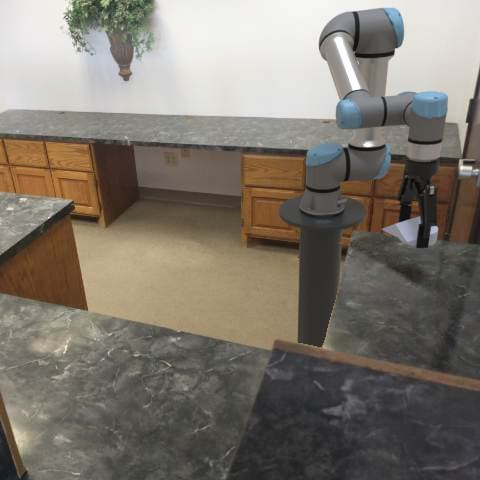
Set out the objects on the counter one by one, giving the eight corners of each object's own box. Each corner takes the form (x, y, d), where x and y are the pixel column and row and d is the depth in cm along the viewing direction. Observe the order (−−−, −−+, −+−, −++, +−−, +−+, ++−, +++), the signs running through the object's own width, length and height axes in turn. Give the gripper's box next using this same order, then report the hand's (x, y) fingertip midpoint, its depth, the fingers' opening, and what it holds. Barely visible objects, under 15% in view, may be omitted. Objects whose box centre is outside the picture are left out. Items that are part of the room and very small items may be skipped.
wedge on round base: (405, 253, 129) (444, 241, 133) (408, 230, 126) (448, 217, 130) (379, 240, 137) (416, 228, 141) (382, 217, 134) (419, 206, 138)
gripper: (462, 171, 114) (448, 257, 124) (417, 143, 135) (408, 218, 145) (428, 174, 115) (416, 259, 124) (389, 145, 136) (381, 220, 145)
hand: (412, 237), depth 135 cm, fingers closed on wedge on round base, 11 cm apart
